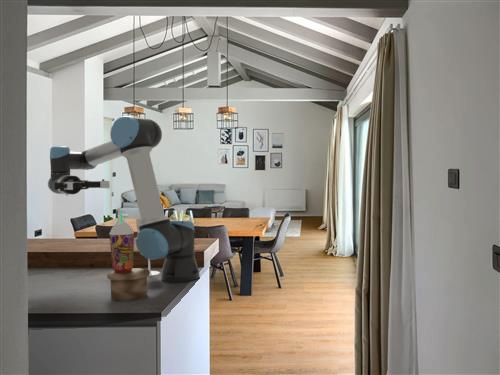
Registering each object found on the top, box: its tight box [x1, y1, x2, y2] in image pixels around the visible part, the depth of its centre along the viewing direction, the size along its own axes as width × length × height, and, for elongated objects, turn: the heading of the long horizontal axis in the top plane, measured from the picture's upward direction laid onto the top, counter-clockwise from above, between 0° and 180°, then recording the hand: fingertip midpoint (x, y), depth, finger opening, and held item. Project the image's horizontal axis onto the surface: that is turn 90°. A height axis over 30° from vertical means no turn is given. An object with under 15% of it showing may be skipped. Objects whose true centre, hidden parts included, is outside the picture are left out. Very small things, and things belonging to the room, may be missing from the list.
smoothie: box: [108, 213, 135, 274], centre depth 155 cm, size 8×8×20 cm
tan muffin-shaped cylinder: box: [106, 267, 151, 302], centre depth 153 cm, size 14×14×8 cm
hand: (90, 185), depth 162 cm, fingers open, 13 cm apart
